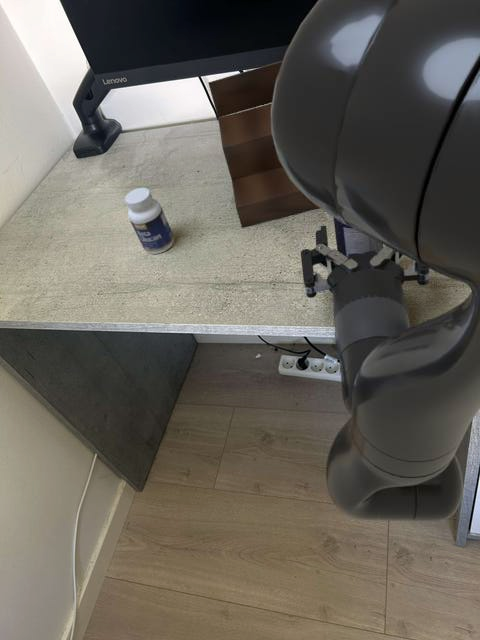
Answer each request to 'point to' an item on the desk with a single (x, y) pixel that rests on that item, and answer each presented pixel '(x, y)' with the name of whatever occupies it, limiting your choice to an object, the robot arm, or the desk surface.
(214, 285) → the desk surface
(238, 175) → the wooden stair steps
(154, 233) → the pill bottle
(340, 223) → the beverage can
